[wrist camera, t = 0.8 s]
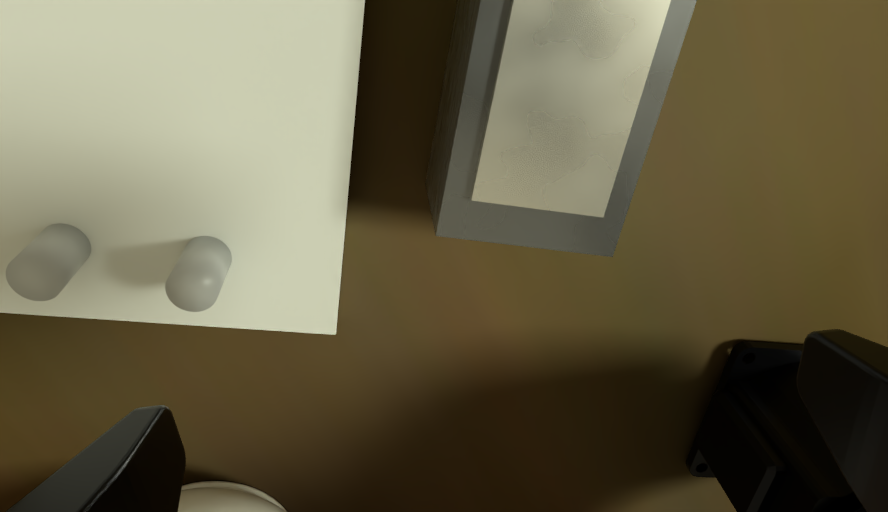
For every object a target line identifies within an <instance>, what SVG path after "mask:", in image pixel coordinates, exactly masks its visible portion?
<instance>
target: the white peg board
mask: <svg viewBox="0 0 888 512" xmlns="http://www.w3.org/2000/svg"><path fill="white" fill-rule="evenodd" d="M364 6H365V0H0V313H14V314H29V315H44V316H59V317H74V318H90V319H105V320H120V321H135V322H150V323H166V324H181V325H196V326H211V327H226V328H242V329H257V330H272V331H287V332H302V333H317V334H333V335H336V327H337V316H338V304H339V293H340V281H341V270H342V258H343V247H344V235H345V224H346V212H347V201H348V190H349V178H350V167H351V155H352V144H353V132H354V121H355V109H356V98H357V86H358V75H359V63H360V52H361V40H362V29H363V17H364Z"/></svg>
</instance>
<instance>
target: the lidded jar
mask: <svg viewBox="0 0 888 512" xmlns="http://www.w3.org/2000/svg"><path fill="white" fill-rule="evenodd" d="M178 512H287V511H286V510H285V508H284V507H283V506H282V505H281V504H280V503H279V502H278V501H276V500H275V499H274V498H273V497H271V496H269V495H268V494H266V493H264V492H263V491H260V490H258V489H256V488H253V487H250V486H247V485H244V484H240V483H234V482H229V481H202V482H195V483H190V484H186V485H183V486H182V489H181V495H180V501H179V507H178Z"/></svg>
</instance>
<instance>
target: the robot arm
mask: <svg viewBox="0 0 888 512" xmlns="http://www.w3.org/2000/svg"><path fill="white" fill-rule="evenodd" d="M747 353H749V354H748V355H747V356H746V357H744V355H746V354H747ZM185 464H186V458H185V451H184V447H183V444H182V441H181V438H180V435H179V432H178V429H177V426H176V423H175V420H174V417H173V414H172V412H171V410H170V409H169V408H168V407H166V406H164V405H159V406H150V407H141V408H137V409H135V410H133V411H132V412H130V413H129V414H128V415H127V416H125V417H124V418H123V419H122V420H120V421H119V422H118V423H117V424H115V425H114V426H113V427H112V428H110V429H109V430H108V431H107V432H105V433H104V434H103V435H101V436H100V437H99V438H98V439H96V440H95V441H94V442H93V443H91V444H90V445H89V446H88V447H86V448H85V449H84V450H83V451H81V452H80V453H79V454H78V455H76V456H75V457H74V458H73V459H71V460H70V461H69V462H68V463H66V464H65V465H64V466H62V467H61V468H60V469H59V470H57V471H56V472H55V473H54V474H52V475H51V476H50V477H49V478H47V479H46V480H45V481H44V482H42V483H41V484H40V485H39V486H37V487H36V488H35V489H34V490H32V491H31V492H30V493H29V494H27V495H26V496H25V497H23V498H22V499H21V500H20V501H18V502H17V503H16V504H15V505H13V506H12V507H11V508H10V509H8V510H7V511H6V512H178V507H179V501H180V495H181V489H182V484H183V478H184V472H185ZM686 465H687V467H688V469H689V471H690V473H691V474H692V475H693V476H696V477H716V478H717V480H718V482H719V483H720V485H721V486H722V488H723V490H724V491H725V493H726V495H727V496H728V498H729V500H730V501H731V503H732V504H733V506H734V508H735V509H736V511H737V512H888V347H886V346H883V345H880V344H878V343H875V342H872V341H870V340H867V339H865V338H862V337H859V336H857V335H854V334H851V333H849V332H846V331H844V330H840V329H832V330H823V331H814V332H812V333H810V334H808V335H807V337H806V338H805V341H804V345H795V344H781V343H767V342H753V341H745V342H741V343H739V344H737V345H736V346H735V347H734V348H733V350H732V351H731V354H730V356H729V358H728V361H727V363H726V366H725V368H724V371H723V373H722V375H721V378H720V380H719V383H718V385H717V387H716V390H715V392H714V395H713V397H712V399H711V401H710V404H709V406H708V409H707V411H706V414H705V416H704V418H703V421H702V423H701V426H700V428H699V431H698V433H697V435H696V438H695V441H694V443H693V446H692V448H691V450H690V453H689V455H688V458H687V460H686Z"/></svg>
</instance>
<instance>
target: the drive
mask: <svg viewBox="0 0 888 512" xmlns="http://www.w3.org/2000/svg"><path fill="white" fill-rule="evenodd" d="M696 1H697V0H457V6H456V11H455V17H454V23H453V28H452V34H451V40H450V46H449V51H448V57H447V63H446V68H445V74H444V80H443V85H442V91H441V97H440V103H439V108H438V114H437V120H436V125H435V131H434V137H433V142H432V148H431V154H430V160H429V165H428V171H427V177H426V182H425V185H426V190H427V195H428V200H429V205H430V210H431V215H432V219H433V224H434V229H435V234H436V236H442V237H450V238H458V239H467V240H475V241H484V242H492V243H500V244H509V245H517V246H526V247H534V248H542V249H551V250H559V251H568V252H576V253H585V254H593V255H601V256H610V257H613V254H614V251H615V248H616V245H617V242H618V238H619V235H620V232H621V229H622V226H623V223H624V220H625V217H626V214H627V211H628V208H629V205H630V202H631V199H632V196H633V193H634V190H635V187H636V184H637V181H638V178H639V174H640V171H641V168H642V165H643V162H644V159H645V156H646V153H647V150H648V147H649V144H650V141H651V138H652V135H653V132H654V129H655V126H656V123H657V120H658V117H659V114H660V111H661V107H662V104H663V101H664V98H665V95H666V92H667V89H668V86H669V83H670V80H671V77H672V74H673V71H674V68H675V65H676V62H677V59H678V56H679V53H680V50H681V47H682V44H683V40H684V37H685V34H686V31H687V28H688V25H689V22H690V19H691V16H692V13H693V10H694V7H695V4H696Z"/></svg>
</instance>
